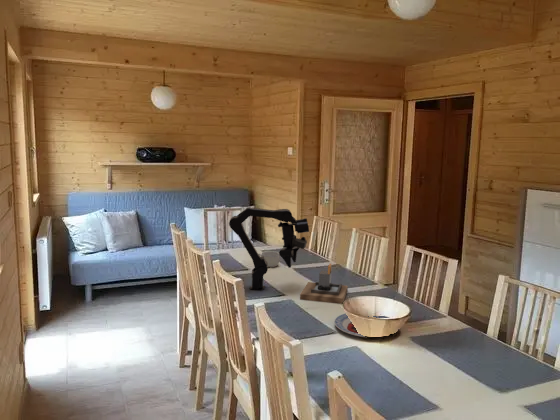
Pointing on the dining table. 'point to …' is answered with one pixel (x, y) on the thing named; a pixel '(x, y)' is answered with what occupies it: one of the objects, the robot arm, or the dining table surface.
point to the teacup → (271, 258)
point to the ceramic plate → (349, 324)
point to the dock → (324, 293)
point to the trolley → (325, 279)
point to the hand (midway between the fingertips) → (292, 264)
